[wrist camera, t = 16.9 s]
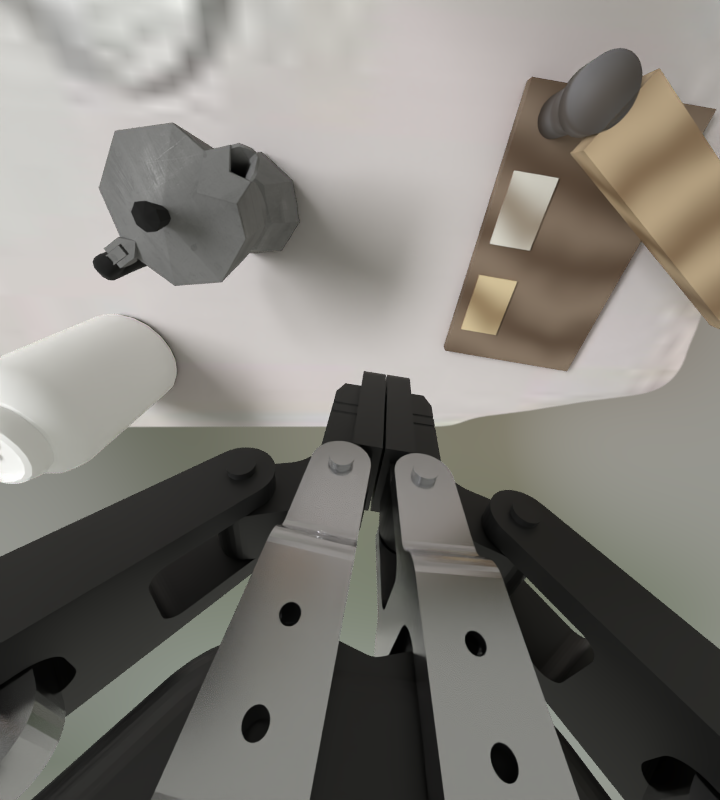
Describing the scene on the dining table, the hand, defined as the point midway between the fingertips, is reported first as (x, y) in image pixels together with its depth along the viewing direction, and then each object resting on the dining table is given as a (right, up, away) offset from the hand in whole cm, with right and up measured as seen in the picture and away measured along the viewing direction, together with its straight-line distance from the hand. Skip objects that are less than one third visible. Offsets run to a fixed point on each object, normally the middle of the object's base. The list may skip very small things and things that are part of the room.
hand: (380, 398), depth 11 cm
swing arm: (+23, +15, +14) cm, 31 cm away
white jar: (-32, +6, +34) cm, 47 cm away
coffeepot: (-12, +20, +23) cm, 33 cm away
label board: (+19, +15, +22) cm, 33 cm away
